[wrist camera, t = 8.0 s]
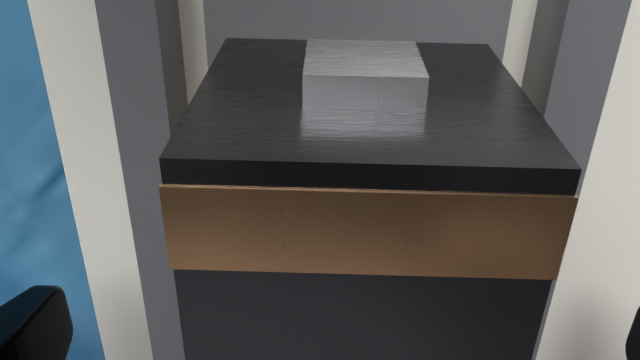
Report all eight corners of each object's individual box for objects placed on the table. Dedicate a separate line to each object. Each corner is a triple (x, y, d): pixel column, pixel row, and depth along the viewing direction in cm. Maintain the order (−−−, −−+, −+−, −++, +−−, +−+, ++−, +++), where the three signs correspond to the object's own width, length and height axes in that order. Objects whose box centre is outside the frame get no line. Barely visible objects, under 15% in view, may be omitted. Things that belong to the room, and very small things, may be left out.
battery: (434, 389, 13) (470, 597, 9) (246, 384, 13) (212, 587, 9) (493, 17, 9) (597, 132, 5) (222, 11, 9) (150, 120, 5)
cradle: (802, 409, 17) (947, 584, 13) (156, 389, 17) (101, 555, 13) (1157, -180, 10) (1716, -197, 6) (58, -201, 10) (-123, -232, 6)
